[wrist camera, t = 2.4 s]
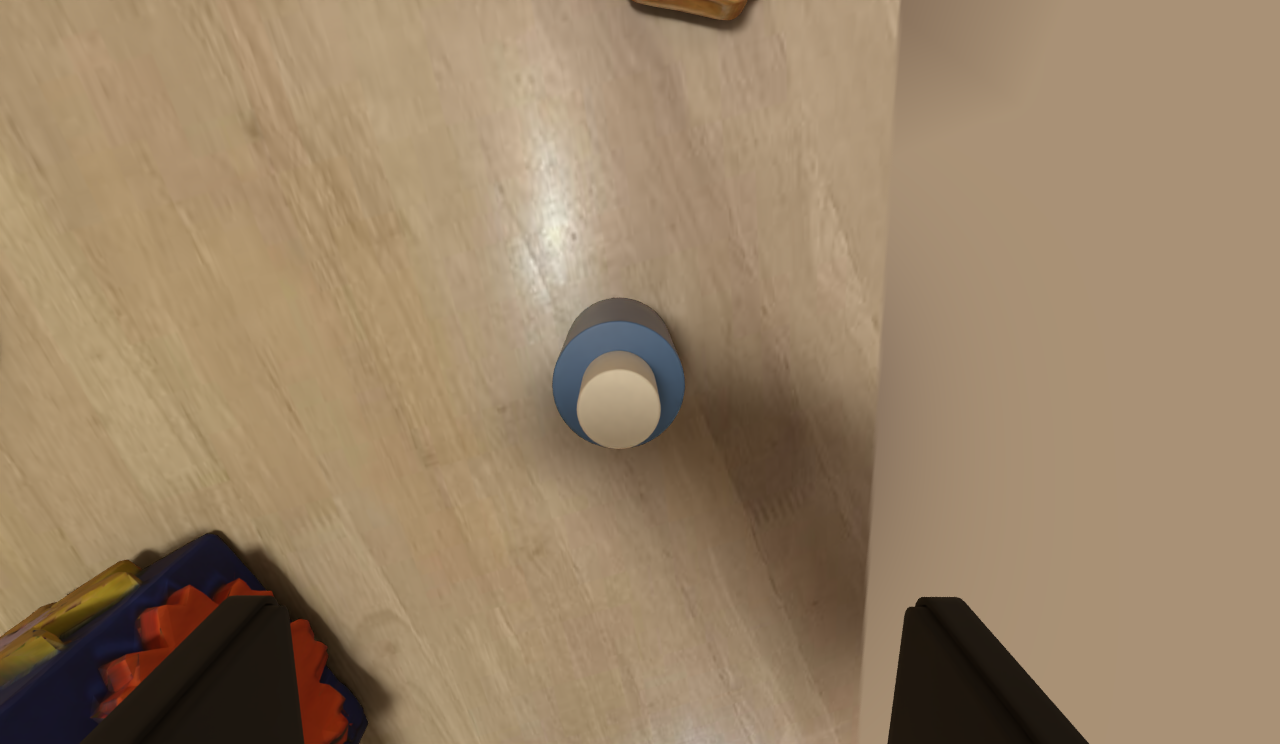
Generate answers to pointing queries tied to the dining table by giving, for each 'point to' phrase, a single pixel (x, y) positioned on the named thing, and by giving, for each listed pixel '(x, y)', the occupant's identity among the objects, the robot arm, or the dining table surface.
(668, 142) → the dining table surface
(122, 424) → the dining table surface
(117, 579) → the decorative cube
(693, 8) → the ornament
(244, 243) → the dining table surface
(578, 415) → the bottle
